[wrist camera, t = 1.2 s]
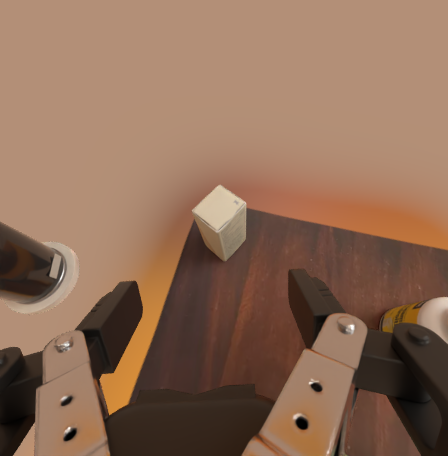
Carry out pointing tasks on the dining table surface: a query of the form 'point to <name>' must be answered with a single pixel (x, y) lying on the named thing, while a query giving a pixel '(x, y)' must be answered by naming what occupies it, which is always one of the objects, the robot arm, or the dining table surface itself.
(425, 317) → the pill bottle
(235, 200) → the box
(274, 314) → the dining table surface
